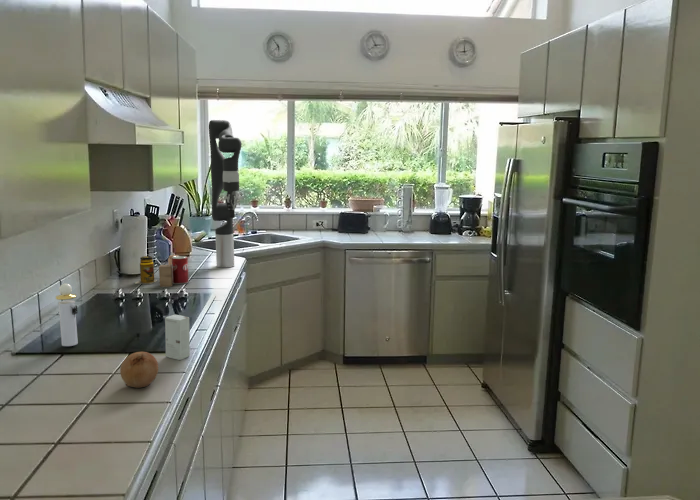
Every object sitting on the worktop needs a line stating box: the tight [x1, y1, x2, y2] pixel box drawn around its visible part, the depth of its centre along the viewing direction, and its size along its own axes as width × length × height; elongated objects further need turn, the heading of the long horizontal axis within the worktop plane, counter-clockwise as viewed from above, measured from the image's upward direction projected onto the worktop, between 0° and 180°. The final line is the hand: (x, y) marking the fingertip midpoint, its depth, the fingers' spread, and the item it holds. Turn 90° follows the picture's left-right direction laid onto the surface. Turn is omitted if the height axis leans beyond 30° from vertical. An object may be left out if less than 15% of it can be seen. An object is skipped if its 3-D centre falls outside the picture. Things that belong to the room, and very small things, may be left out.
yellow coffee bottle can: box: [135, 255, 159, 285], centre depth 279 cm, size 7×8×12 cm
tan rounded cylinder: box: [167, 254, 180, 265], centre depth 286 cm, size 6×6×11 cm
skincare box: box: [164, 314, 191, 361], centre depth 178 cm, size 6×4×12 cm
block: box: [158, 264, 174, 288], centre depth 272 cm, size 5×5×9 cm
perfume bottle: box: [55, 282, 79, 347], centre depth 187 cm, size 6×6×20 cm
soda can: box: [171, 255, 190, 285], centre depth 278 cm, size 7×7×12 cm
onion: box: [119, 351, 159, 389], centre depth 157 cm, size 10×9×10 cm
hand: (232, 217), depth 285 cm, fingers closed
